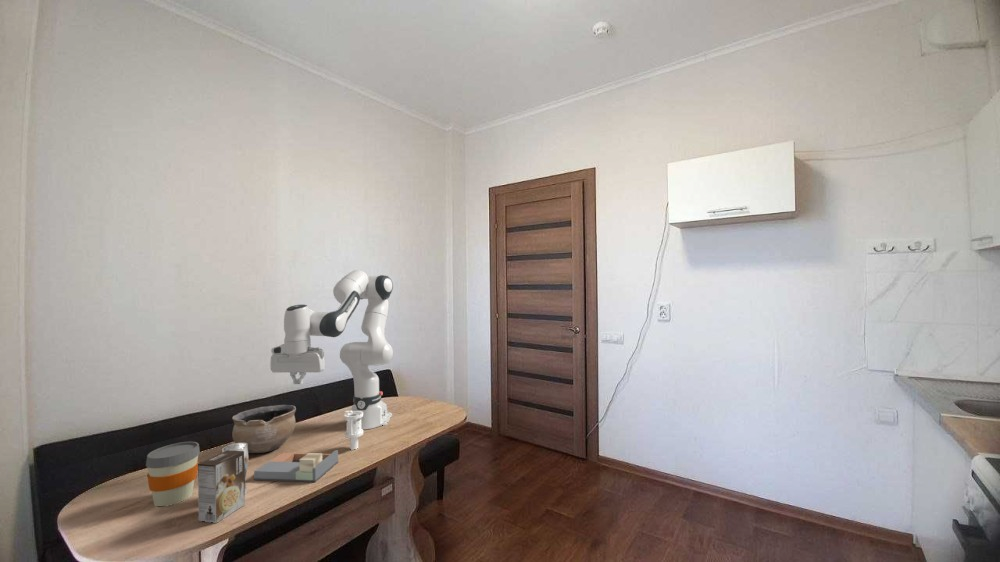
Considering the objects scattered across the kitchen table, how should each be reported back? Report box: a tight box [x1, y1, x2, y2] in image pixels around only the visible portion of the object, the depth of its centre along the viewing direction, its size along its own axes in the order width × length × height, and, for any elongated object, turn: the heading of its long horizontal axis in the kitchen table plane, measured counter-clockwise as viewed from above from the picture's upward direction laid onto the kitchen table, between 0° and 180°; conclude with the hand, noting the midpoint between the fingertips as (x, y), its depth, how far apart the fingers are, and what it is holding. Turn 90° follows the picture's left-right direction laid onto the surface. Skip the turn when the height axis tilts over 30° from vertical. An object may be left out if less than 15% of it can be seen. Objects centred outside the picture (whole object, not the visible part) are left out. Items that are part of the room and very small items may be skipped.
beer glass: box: [221, 442, 249, 495], centre depth 115 cm, size 7×7×15 cm
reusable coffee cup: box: [145, 441, 201, 507], centre depth 114 cm, size 12×13×15 cm
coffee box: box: [197, 450, 246, 524], centre depth 106 cm, size 9×6×16 cm
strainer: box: [343, 410, 364, 451], centre depth 148 cm, size 7×7×15 cm
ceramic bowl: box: [231, 404, 297, 454], centre depth 150 cm, size 22×22×15 cm
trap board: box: [253, 449, 339, 483], centre depth 130 cm, size 14×22×4 cm, turn 84°
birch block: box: [300, 452, 323, 472], centre depth 126 cm, size 5×5×4 cm
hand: (298, 383), depth 140 cm, fingers closed
